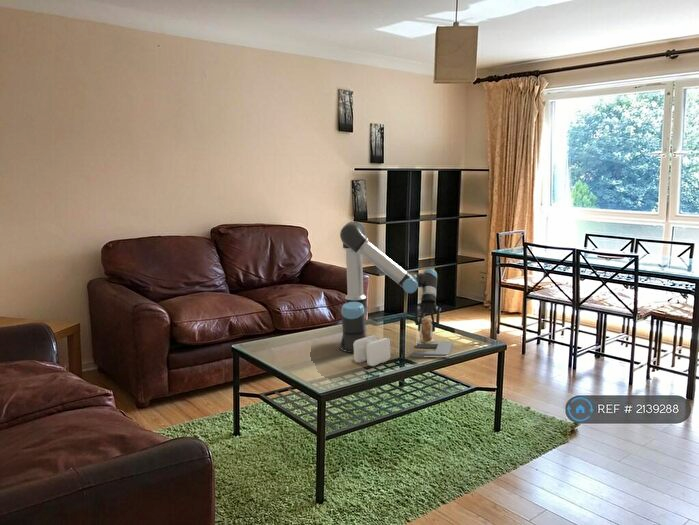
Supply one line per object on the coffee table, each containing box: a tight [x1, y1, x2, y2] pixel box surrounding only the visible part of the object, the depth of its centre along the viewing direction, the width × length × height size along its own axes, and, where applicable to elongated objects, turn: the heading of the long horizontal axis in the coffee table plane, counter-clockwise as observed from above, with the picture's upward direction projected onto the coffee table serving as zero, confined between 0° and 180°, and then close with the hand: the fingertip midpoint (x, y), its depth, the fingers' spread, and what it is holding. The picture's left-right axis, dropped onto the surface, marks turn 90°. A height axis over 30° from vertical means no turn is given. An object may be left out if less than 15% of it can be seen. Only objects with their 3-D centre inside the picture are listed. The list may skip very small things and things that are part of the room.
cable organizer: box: [353, 334, 391, 367], centre depth 278 cm, size 15×11×12 cm
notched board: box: [411, 340, 454, 358], centre depth 290 cm, size 18×20×2 cm
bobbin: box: [419, 317, 435, 344], centre depth 289 cm, size 7×7×12 cm
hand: (425, 336), depth 286 cm, fingers closed on bobbin, 4 cm apart
